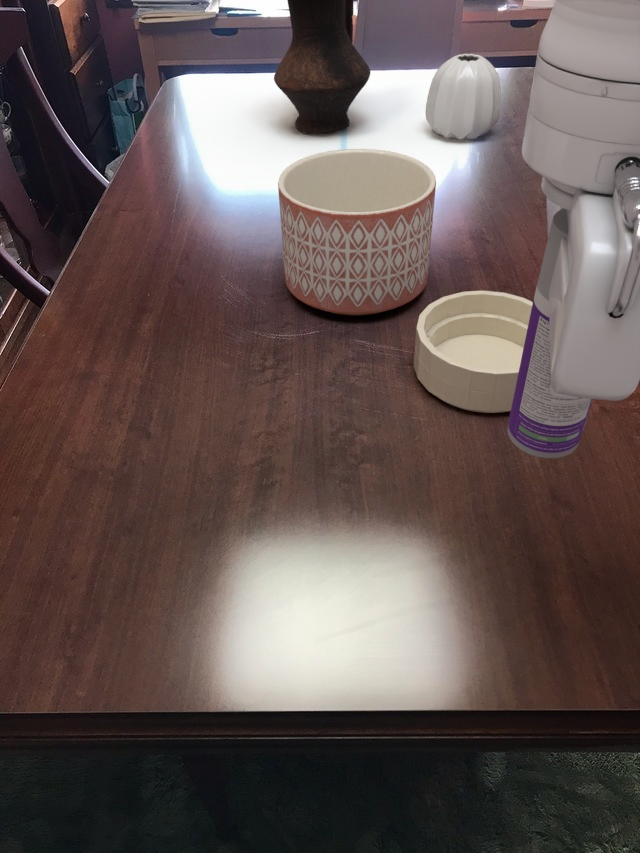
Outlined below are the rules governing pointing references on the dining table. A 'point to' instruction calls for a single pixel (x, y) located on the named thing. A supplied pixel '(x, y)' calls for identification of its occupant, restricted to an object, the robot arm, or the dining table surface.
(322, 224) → the planter
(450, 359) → the bowl
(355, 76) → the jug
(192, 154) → the dining table surface
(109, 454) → the dining table surface
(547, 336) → the container
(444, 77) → the vase
